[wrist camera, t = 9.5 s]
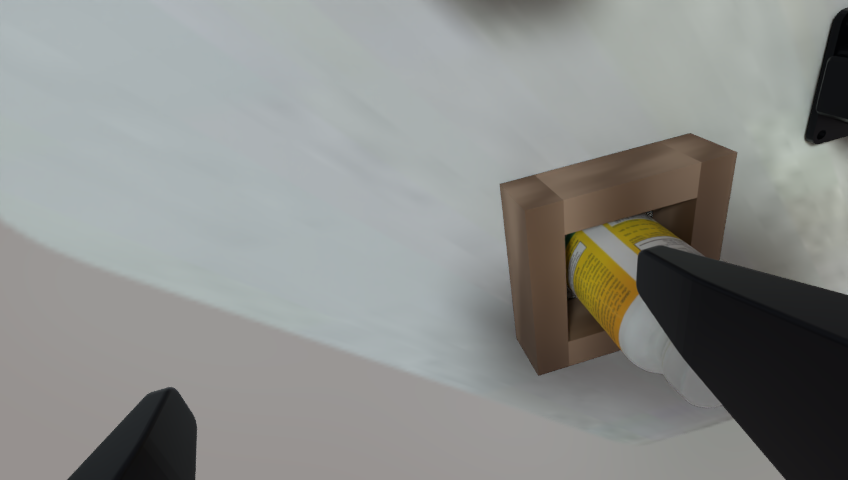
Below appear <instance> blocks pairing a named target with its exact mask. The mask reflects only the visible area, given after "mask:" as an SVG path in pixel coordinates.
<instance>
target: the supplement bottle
mask: <svg viewBox="0 0 848 480" xmlns="http://www.w3.org/2000/svg"><path fill="white" fill-rule="evenodd" d="M657 245H663V246H667V247H671V248H674V249H678V250H682V251H685V252H689V253H693V254H697V255H700V256H704V255H702V254H701V253H699V252H698V251H697V250H695V249H694V248H693V247H691V246H690V245H688V244H687V243H686V242H684V241H683V240H681V239H680V238H679V237H677V236H676V235H674V234H673V233H672V232H670V231H669V230H668V229H666V228H665V227H663V226H662V225H661V224H659V223H658V222H657V221H655V220H654V219H652V218H651V217H650V216H648V215H647V214H645V213H641V214H637V215H634V216H630V217H626V218H623V219H619V220H616V221H612V222H609V223H605V224H602V225H598V226H595V227H591V228H588V229H584V230H580V231H577V232H573V233H570V234H566V235H565V258H566V284H567V286H568V287H569V288H570V289H571V290H572V292H573V293H574V294H575V295H576V297H577V298H578V299H579V300H580V301H581V303H582V304H583V305H584V306H585V307H586V309H587V310H588V311H589V312H590V313H591V315H592V316H593V317H594V318H595V319H596V321H597V322H598V323H599V324H600V325H601V327H602V328H603V329H604V330H605V331H606V332H607V334H608V335H609V336H610V337H611V339H612V340H613V341H614V342H615V344H616V345H617V346H618V347H619V349H620V350H621V351H622V352H623V353H624V355H625V356H626V357H627V358H628V359H629V360H630V361H631V362H632V363H634V364H635V365H636V366H638V367H639V368H641V369H643V370H646V371H649V372H653V373H658V374H664V376H665V378H666V380H667V381H668V383H669V384H670V385H672V386H673V387H674V388H675V389H676V390H677V392H678V393H679V394H680V395H681V396H682V397H683V398H684V399H685V400H686V401H687V402H689V403H690V404H692V405H694V406H697V407H703V408H712V407H717V406H722V404H721V403H720V402H719V400H718V399H717V398H716V397H715V396H714V395H713V393H712V392H711V391H710V390H709V389H708V387H707V386H706V385H705V384H704V383H703V382H702V380H701V379H700V378H699V377H698V376H697V375H696V373H695V372H694V371H693V370H692V369H691V367H690V366H689V365H688V364H687V363H686V361H685V360H684V359H683V358H682V356H681V355H680V354H679V352H678V351H677V349H676V348H675V347H674V345H673V344H672V342H671V341H670V339H669V338H668V336H667V335H666V334H665V332H664V331H663V329H662V328H661V326H660V325H659V323H658V322H657V320H656V319H655V317H654V316H653V314H652V313H651V312H650V310H649V309H648V307H647V306H646V304H645V303H644V301H643V300H642V298H641V297H640V295H639V293H638V291H637V287H636V275H637V258H638V254H639V252H640V251H641V250H643V249H646V248H650V247H653V246H657ZM704 257H705V256H704Z"/></svg>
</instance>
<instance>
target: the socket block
mask: <svg viewBox="0 0 848 480" xmlns="http://www.w3.org/2000/svg"><path fill="white" fill-rule="evenodd" d="M736 157H737V152H735V151H733V150H730V149H728V148H725V147H723V146H720V145H718V144H716V143H713V142H711V141H708V140H706V139H703V138H701V137H699V136H696V135H694V134H691V133H689V134H685V135H682V136H678V137H674V138H670V139H667V140H663V141H659V142H655V143H652V144H648V145H644V146H641V147H637V148H633V149H629V150H626V151H622V152H618V153H614V154H611V155H607V156H603V157H599V158H596V159H592V160H588V161H584V162H581V163H577V164H573V165H570V166H566V167H562V168H558V169H555V170H551V171H547V172H543V173H540V174H536V175H532V176H528V177H525V178H521V179H517V180H513V181H510V182H506V183H502V184H500V191H501V200H502V209H503V218H504V227H505V236H506V246H507V255H508V264H509V273H510V282H511V291H512V301H513V310H514V319H515V328H516V337H517V340H518V342H519V344H520V345H521V347H522V349H523V350H524V352H525V354H526V356H527V357H528V359H529V361H530V362H531V364H532V366H533V367H534V369H535V371H536V373H537V374H538V376H539V375H542V374H545V373H549V372H552V371H555V370H558V369H562V368H565V367H568V366H571V365H574V364H578V363H581V362H584V361H587V360H590V359H594V358H597V357H600V356H603V355H606V354H610V353H613V352H616V351H619V350H620V349H619V347H618V346H617V345H616V344H615V342H614V341H613V340H612V339H611V337H610V336H609V335H608V334H607V332H606V331H605V330H604V329H603V328H602V327H601V325H600V324H599V323H598V322H597V321H596V319H595V318H594V317H593V316H592V315H591V313H590V312H589V311H588V310H587V309H586V307H585V306H584V305H583V304H582V303H581V301H580V300H579V299H578V298H577V297H576V298H573V299H570V300H567V288H566V258H565V235H566V234H570V233H573V232H577V231H580V230H584V229H588V228H591V227H595V226H598V225H602V224H605V223H609V222H612V221H616V220H619V219H623V218H626V217H630V216H634V215H637V214H641V213H644V212H648V211H651V210H653V217H652V219H654V220H655V221H657V222H658V223H659V224H661V225H662V226H663V227H665V228H666V229H668V230H669V231H670V232H672V233H673V234H674V235H676V236H677V237H679V238H680V239H681V240H683V241H684V242H686V243H687V244H688V245H690V246H691V247H693V248H694V249H695V250H697V251H698V252H699V253H701V254H702V255H704V256H705V257H708V258H711V259H715V260H719V259H720V253H721V247H722V241H723V235H724V229H725V223H726V217H727V211H728V205H729V199H730V193H731V187H732V181H733V175H734V169H735V163H736Z"/></svg>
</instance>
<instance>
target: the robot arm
mask: <svg viewBox="0 0 848 480" xmlns="http://www.w3.org/2000/svg"><path fill="white" fill-rule="evenodd" d="M846 136H848V8H845V9H843V10H841V11H840V12H839V13H838V14H837V15H836V17H835V19H834V21H833V25H832V29H831V33H830V37H829V41H828V46H827V50H826V54H825V58H824V62H823V66H822V71H821V75H820V79H819V83H818V87H817V91H816V96H815V100H814V104H813V108H812V112H811V116H810V120H809V125H808V129H807V133H806V140H807V141H809V142H811V143H814V144H821V143H824V142H828V141H831V140H835V139H839V138H842V137H846ZM636 287H637V291H638V293H639V295H640V297H641V298H642V300H643V301H644V303H645V304H646V306H647V307H648V309H649V310H650V312H651V313H652V314H653V316H654V317H655V319H656V320H657V322H658V323H659V325H660V326H661V328H662V329H663V331H664V332H665V334H666V335H667V336H668V338H669V339H670V341H671V342H672V344H673V345H674V347H675V348H676V349H677V351H678V352H679V354H680V355H681V356H682V358H683V359H684V360H685V361H686V363H687V364H688V365H689V366H690V367H691V369H692V370H693V371H694V372H695V373H696V375H697V376H698V377H699V378H700V379H701V380H702V382H703V383H704V384H705V385H706V386H707V387H708V389H709V390H710V391H711V392H712V393H713V395H714V396H715V397H716V398H717V399H718V400H719V402H720V403H721V404H722V405H723V406H724V408H725V409H726V410H727V411H728V412H729V413H730V415H731V416H732V417H733V418H734V419H735V420H736V422H737V423H738V424H739V425H740V426H741V427H742V429H743V430H744V431H745V432H746V433H747V434H748V436H749V437H750V438H751V439H752V441H753V442H754V443H755V444H756V445H757V446H758V448H759V449H760V450H761V451H762V452H763V453H764V455H765V456H766V457H767V458H768V459H769V461H770V462H771V463H772V464H773V465H774V466H775V468H776V469H777V470H778V471H779V472H780V473H781V474H782V476H783V477H784V478H785V479H786V480H848V295H845V294H842V293H838V292H834V291H830V290H827V289H823V288H819V287H816V286H812V285H808V284H804V283H801V282H797V281H793V280H790V279H786V278H782V277H778V276H775V275H771V274H767V273H764V272H760V271H756V270H752V269H749V268H745V267H741V266H737V265H734V264H730V263H726V262H723V261H719V260H715V259H711V258H708V257H704V256H700V255H697V254H693V253H689V252H685V251H682V250H678V249H674V248H671V247H667V246H663V245H657V246H653V247H650V248H646V249H643V250H641V251H640V252H639V254H638V258H637V275H636ZM196 441H197V425H196V420H195V417H194V415H193V414H192V412H191V411H190V409H189V408H188V406H187V404H186V403H185V401H184V400H183V398H182V397H181V395H180V394H179V392H178V391H177V390H176V389H175V388H173V387H168V388H165V389H161V390H158V391H154V392H151V393H149V394H147V395H146V396H145V397H144V398H143V399H142V400H141V401H140V402H139V404H138V405H137V406H136V407H135V408H134V409H133V410H132V411H131V412H130V413H129V414H128V415H127V416H126V417H125V418H124V420H123V421H122V422H121V423H120V424H119V425H118V426H117V427H116V428H115V429H114V430H113V431H112V432H111V434H110V435H109V436H108V437H107V438H106V439H105V440H104V441H103V442H102V443H101V444H100V445H99V446H98V447H97V448H96V450H95V451H94V452H93V453H92V454H91V455H90V456H89V457H88V458H87V459H86V460H85V461H84V462H83V463H82V464H81V466H80V467H79V468H78V469H77V470H76V471H75V472H74V473H73V474H72V475H71V476H70V477H69V478H68V480H195V472H196Z"/></svg>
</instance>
